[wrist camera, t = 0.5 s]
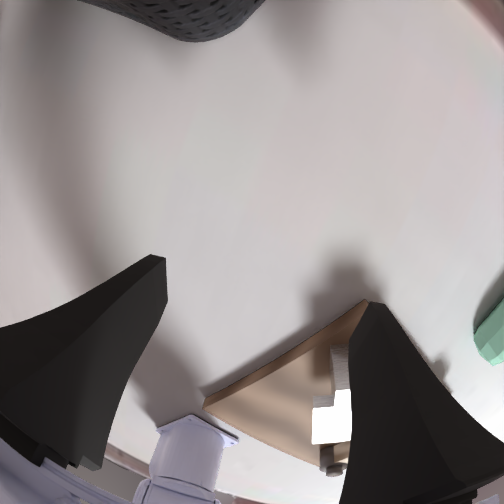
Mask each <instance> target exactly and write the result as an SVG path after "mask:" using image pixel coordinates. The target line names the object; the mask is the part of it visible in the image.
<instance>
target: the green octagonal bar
mask: <svg viewBox="0 0 504 504" xmlns="http://www.w3.org/2000/svg"><path fill="white" fill-rule="evenodd" d="M474 342H475V344H476V347H477V349H478V352H479V354H480V356H482V357H483V358H484V359H485V360H486V361H488V362H489V363H490V364H491V365H492V366H494V365H497V364H499V363H502V362H504V298H503V299H502V301H501V302H500V303H499V304H498V305H497V307H496V308H495V309H494V310H493V311H492V312H491V314H490V315H489V316H488V317H487V318H486V319H485V320H484V321H483V323H482V324H481V325H480V326H479V327H478V329H477V331H476V333H475V335H474Z"/></svg>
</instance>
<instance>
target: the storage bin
mask: <svg viewBox="0 0 504 504" xmlns="http://www.w3.org/2000/svg"><path fill="white" fill-rule="evenodd" d="M79 1H82V2H85V3H89V4H92V5H95V6H98V7H101V8H103V9H106V10H109V11H112V12H114V13H117V14H120V15H122V16H125V17H127V18H130V19H132V20H135V21H137V22H140V23H142V24H144V25H147V26H149V27H151V28H153V29H155V30H158V31H160V32H162V33H164V34H166V35H168V36H170V37H172V38H175V39H177V40H181V41H186V42H205V41H209V40H213V39H217V38H220V37H222V36H224V35H226V34H228V33H230V32H232V31H234V30H235V29H237V28H238V27H239V26H241V25H242V24H243V23H244V22H245V21H246V20H247V19H248V18H249V17H250V16H251V15H252V13H253V12H254V11H255V10H256V9H257V8H258V7H259V6H260V5H261V4H262V3H263V2H264V1H265V0H79Z"/></svg>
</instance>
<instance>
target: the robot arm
mask: <svg viewBox="0 0 504 504" xmlns="http://www.w3.org/2000/svg"><path fill="white" fill-rule="evenodd" d="M167 302H168V295H167V276H166V258H164V257H160V256H156V255H152V254H150V255H148V256H146V257H144V258H143V259H141V260H139V261H138V262H136V263H135V264H133V265H131V266H130V267H128V268H127V269H125V270H123V271H122V272H120V273H118V274H117V275H115V276H114V277H112V278H110V279H109V280H107V281H106V282H104V283H102V284H100V285H99V286H97V287H95V288H93V289H92V290H90V291H88V292H86V293H85V294H83V295H81V296H79V297H78V298H76V299H74V300H72V301H70V302H68V303H66V304H64V305H61V306H59V307H57V308H55V309H53V310H50V311H48V312H45V313H43V314H40V315H38V316H35V317H33V318H30V319H27V320H25V321H22V322H18V323H15V324H12V325H8V326H5V327H1V328H0V504H82V503H81V502H80V498H81V499H83V500H85V501H87V502H88V503H90V504H221V503H220V501H219V500H218V499H215V496H216V494H215V493H213V492H214V488H215V484H216V479H217V475H218V471H219V466H220V462H221V457H222V453H223V448H225V447H229V446H232V445H235V444H238V443H239V440H238V439H236V438H234V437H232V436H230V435H228V434H226V433H224V432H222V431H221V430H219V429H217V428H215V427H213V426H212V425H210V424H208V423H206V422H205V421H203V420H201V419H200V418H198V417H196V416H194V415H188V416H186V417H183V418H181V419H179V420H176V421H174V422H172V423H169V424H167V425H164V426H162V427H159V428H157V429H156V432H158V433H159V434H161V436H160V438H159V441H158V443H157V446H156V449H155V451H154V454H153V456H152V459H151V462H150V465H149V472H150V476H151V478H152V481H151V480H150V479H145V480H143V481H141V482H140V484H139V486H138V488H137V490H136V493H135V495H134V498H133V501H132V502H129V501H127V500H124V499H122V498H120V497H118V496H116V495H113V494H111V493H109V492H107V491H105V490H103V489H100V488H99V487H97V486H95V485H93V484H91V483H89V482H87V481H85V480H83V479H81V478H80V477H78V476H76V475H74V474H73V473H71V472H69V471H67V470H66V467H67V465H68V464H69V465H71V466H73V467H75V468H77V467H78V466H79V464H80V465H82V466H84V467H86V468H88V469H90V470H92V471H95V470H99V469H101V467H102V462H103V458H104V453H105V449H106V444H107V440H108V437H109V433H110V430H111V426H112V423H113V420H114V417H115V414H116V411H117V408H118V405H119V402H120V399H121V396H122V394H123V391H124V389H125V386H126V384H127V381H128V379H129V377H130V375H131V373H132V371H133V369H134V367H135V365H136V363H137V361H138V360H139V358H140V356H141V354H142V352H143V351H144V349H145V347H146V345H147V344H148V342H149V340H150V338H151V336H152V335H153V333H154V331H155V329H156V327H157V326H158V324H159V321H160V319H161V317H162V314H163V312H164V309H165V307H166V304H167ZM348 372H349V385H350V399H351V416H352V427H351V440H350V450H349V457H348V464H347V470H346V475H345V480H344V485H343V490H342V494H341V497H340V501H339V504H472V499H474V498H476V497H477V489H478V488H480V487H483V486H485V485H486V484H489V483H491V482H493V481H494V480H496V479H498V478H500V477H502V476H503V475H504V443H503V442H502V441H500V440H499V439H498V438H496V437H495V436H494V435H492V434H491V433H490V432H488V431H487V430H486V429H485V428H484V427H483V426H482V425H480V424H479V423H478V422H477V421H476V420H475V419H474V418H473V417H472V416H471V415H470V414H469V413H468V412H467V411H466V410H465V409H464V408H463V407H462V406H461V405H460V404H459V403H458V402H457V401H456V400H455V399H454V398H453V397H452V395H451V394H450V393H449V392H448V391H447V389H446V388H445V387H444V386H443V385H442V383H441V382H440V381H439V380H438V378H437V377H436V376H435V375H434V373H433V372H432V371H431V369H430V368H429V366H428V365H427V364H426V362H425V361H424V360H423V358H422V357H421V355H420V354H419V352H418V351H417V350H416V348H415V347H414V345H413V344H412V342H411V341H410V339H409V338H408V336H407V335H406V333H405V332H404V330H403V329H402V327H401V326H400V324H399V323H398V321H397V320H396V319H395V317H394V316H393V314H392V313H391V311H390V310H389V309H388V308H387V306H386V305H385V304H381V303H376V302H369V304H368V306H367V308H366V310H365V312H364V313H363V315H362V317H361V319H360V321H359V323H358V324H357V326H356V328H355V330H354V332H353V333H352V335H351V337H350V339H349V349H348ZM476 504H499V495H498V494H496V495H494V496H492V497H489V498H487V499H485V500H483V501H480V502H478V503H476Z"/></svg>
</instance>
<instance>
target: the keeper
mask: <svg viewBox="0 0 504 504" xmlns="http://www.w3.org/2000/svg"><path fill="white" fill-rule="evenodd" d="M348 349H349V344H340V345H330V366H329V373H330V382H331V393H332V395H325V396H313V420H312V444H321V443H333V442H343V441H350V440H351V427H352V416H351V399H350V385H349V372H348Z"/></svg>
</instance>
